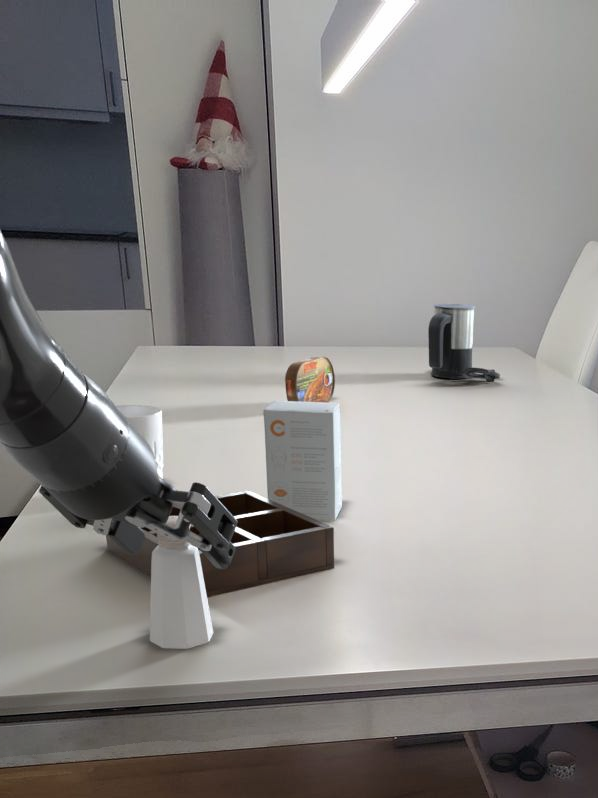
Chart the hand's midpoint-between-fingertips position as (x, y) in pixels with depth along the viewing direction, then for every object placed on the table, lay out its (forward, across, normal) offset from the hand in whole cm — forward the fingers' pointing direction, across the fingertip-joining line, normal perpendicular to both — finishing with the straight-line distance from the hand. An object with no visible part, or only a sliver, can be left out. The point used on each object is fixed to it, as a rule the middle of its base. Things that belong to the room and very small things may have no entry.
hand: (181, 552), depth 86 cm
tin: (+76, +39, -65) cm, 108 cm away
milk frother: (+108, +25, -97) cm, 147 cm away
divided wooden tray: (+19, +8, -8) cm, 22 cm away
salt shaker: (+5, 0, +6) cm, 8 cm away
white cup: (+33, +33, -22) cm, 51 cm away
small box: (+33, +8, -22) cm, 40 cm away
